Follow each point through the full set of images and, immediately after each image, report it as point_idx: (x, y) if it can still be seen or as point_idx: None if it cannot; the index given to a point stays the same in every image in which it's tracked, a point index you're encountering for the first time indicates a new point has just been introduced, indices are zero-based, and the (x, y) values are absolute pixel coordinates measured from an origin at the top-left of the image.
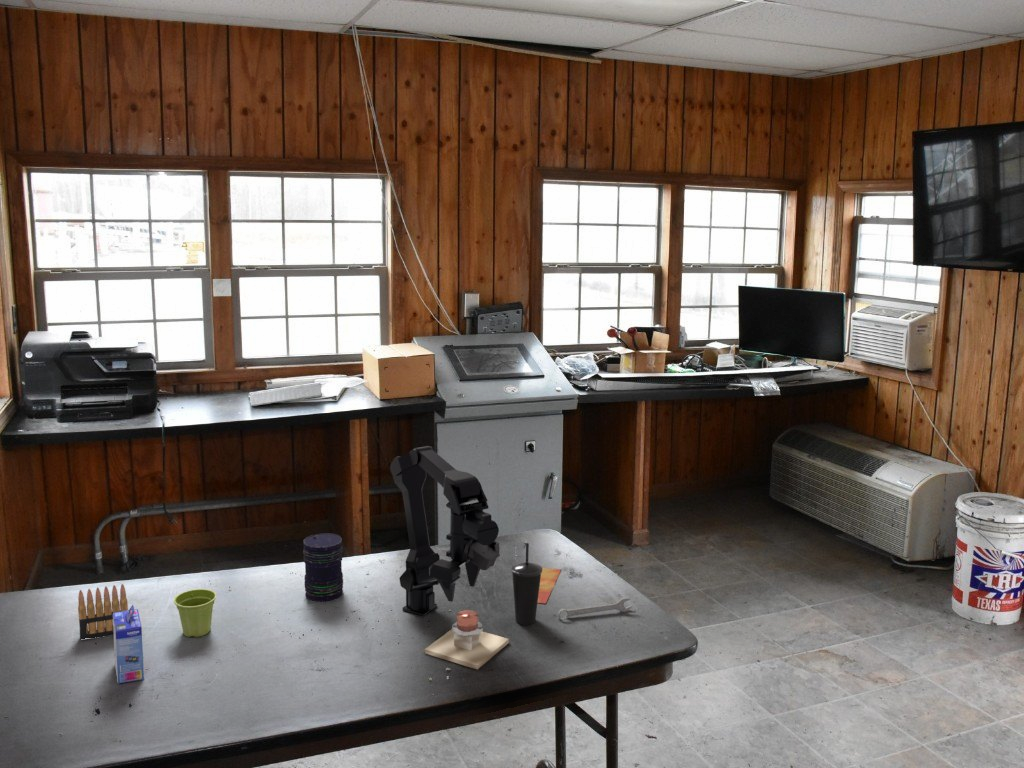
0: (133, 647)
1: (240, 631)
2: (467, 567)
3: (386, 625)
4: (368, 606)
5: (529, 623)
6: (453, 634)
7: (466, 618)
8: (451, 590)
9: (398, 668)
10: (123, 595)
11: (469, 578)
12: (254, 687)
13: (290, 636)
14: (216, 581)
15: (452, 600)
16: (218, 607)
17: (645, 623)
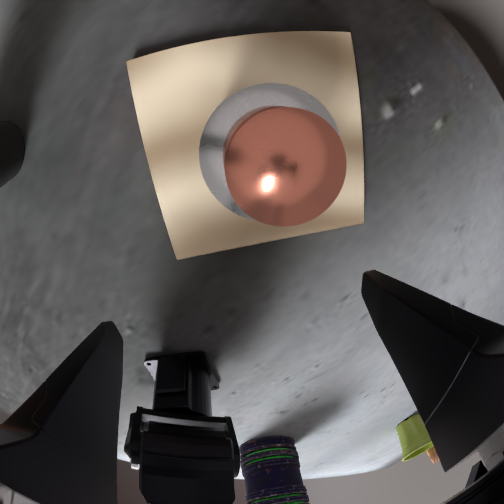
0: None
1: (397, 413)
2: (108, 454)
3: (292, 362)
4: (252, 413)
5: (8, 122)
6: (238, 223)
7: (330, 143)
8: (453, 309)
9: (434, 215)
10: (433, 455)
11: (115, 381)
12: (497, 314)
13: (392, 391)
14: (312, 472)
15: (376, 272)
16: (358, 447)
17: None
